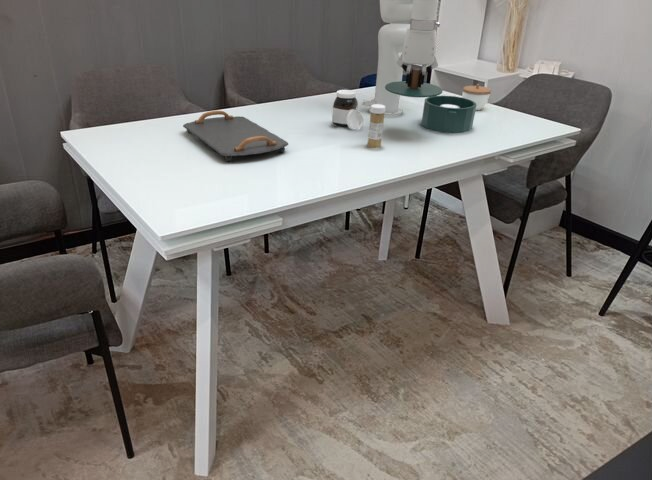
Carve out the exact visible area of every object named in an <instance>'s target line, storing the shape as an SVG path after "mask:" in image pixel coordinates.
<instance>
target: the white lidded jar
mask: <svg viewBox="0 0 652 480" xmlns="http://www.w3.org/2000/svg"><path fill="white" fill-rule="evenodd" d="M491 93H492V89H491V88H489V87H486V86H481V85H480V84H479V83H477V84H476V85H466V86H463V88H462V94H461V97H462V98H466V99H469V100H472V101H474V102H475V103H476V110H475V111H481V110H482V109H483V108H484V107H486V105H487V104H488V102H489V100H490V96H491Z"/></svg>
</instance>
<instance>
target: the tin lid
mask: <svg viewBox="0 0 652 480" xmlns="http://www.w3.org/2000/svg"><path fill="white" fill-rule="evenodd" d="M410 71H411V80H410V87H407V83H405V82H406V80H402V81H398V82H391V83H388V84H386V86H385V89H386V90H387V91H389V92H391V93H394V94H398V95H400V97H408V98H428V97H433V96H441V94H443V88H442V87H440V86H438V85H435V84H432V83H427V82H424V83H423V85H422V84H421V88H419V80H420V74H421V71H422V68H420V67H419V68H418V67H411V70H410Z"/></svg>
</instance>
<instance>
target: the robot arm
mask: <svg viewBox="0 0 652 480" xmlns="http://www.w3.org/2000/svg"><path fill="white" fill-rule="evenodd" d="M438 6H439V0H379V12H380V19H381V20H382V22H384V23H386V24H384V25H382V26H381V27H380V29H379V30H378V33H377V45H378V47H377V48H378V57H377V67H376V68H377V71H376V81H375V91H374V97H373V99H371V100H367V99H362V102H361V103H362V104H361V106H364V107H369V109H368V112H369V113H370V114H371V112H370V109H371V105H374V104H381V105H384V106H385V114H384V117H385V116H386V117H393V116H401V115H402V114H403V110H402V108H400V107H399V106H400V99H401V95H398V94H394V93H391V92H389V91H387V90H386V89H385V86H386V84H388V83H391V82H398V81H403V76H404V75H403V74H404V72H405V73H406V76H405V81H406V82H405V83H407V87H410V80H411V70H412V65H417V66H418V65H419V66H421V74H420V80H419V88H421V84H422V85H423V83H425V82H424V81H425V77H426V76H425V75H427V74H428V73H429V72H430V71H431V70H433V69H436V68H437V67H438V66H439V64H438V61H437V58H436V47H437V30H435V29H436V28H440V27H441V22H438V21H437V20H436V19H437V14H438ZM399 53H401V55H399Z"/></svg>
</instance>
